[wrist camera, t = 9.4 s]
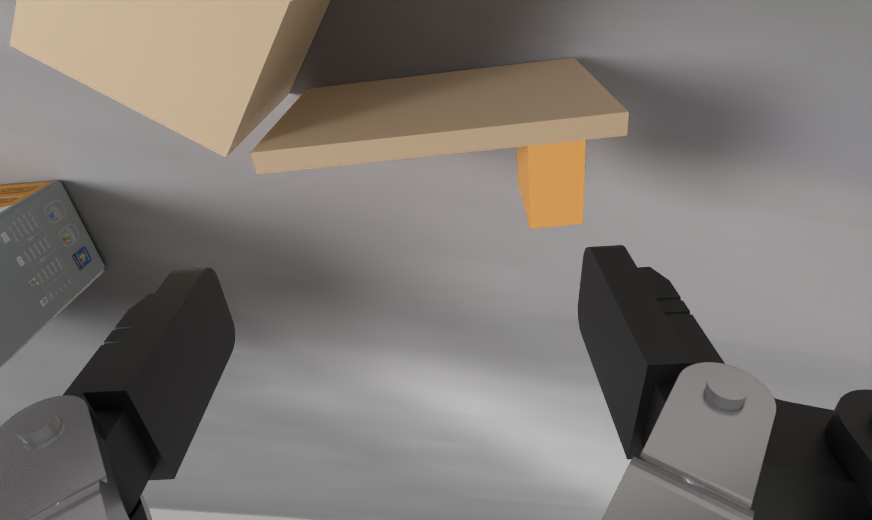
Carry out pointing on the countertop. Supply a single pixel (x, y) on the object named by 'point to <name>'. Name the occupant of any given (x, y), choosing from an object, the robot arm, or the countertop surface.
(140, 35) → the carton
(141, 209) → the countertop surface
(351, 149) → the flap
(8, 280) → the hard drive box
